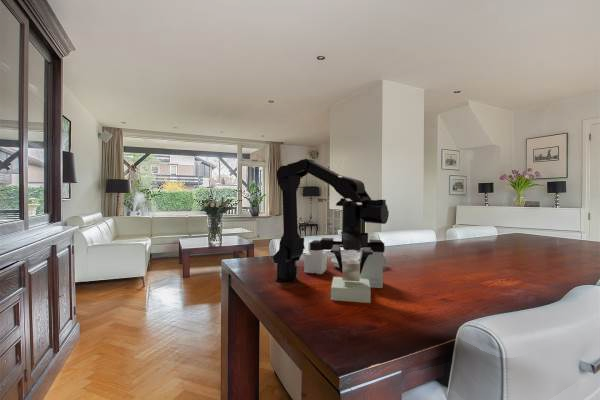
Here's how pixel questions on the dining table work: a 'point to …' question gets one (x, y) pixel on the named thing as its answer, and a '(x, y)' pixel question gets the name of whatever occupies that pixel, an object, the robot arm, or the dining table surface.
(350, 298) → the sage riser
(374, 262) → the supplement box
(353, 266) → the cream block
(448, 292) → the dining table surface
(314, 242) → the medicine bottle
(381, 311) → the dining table surface
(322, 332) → the dining table surface
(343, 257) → the spoon rest
